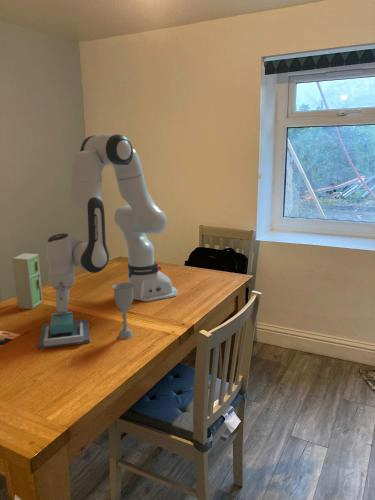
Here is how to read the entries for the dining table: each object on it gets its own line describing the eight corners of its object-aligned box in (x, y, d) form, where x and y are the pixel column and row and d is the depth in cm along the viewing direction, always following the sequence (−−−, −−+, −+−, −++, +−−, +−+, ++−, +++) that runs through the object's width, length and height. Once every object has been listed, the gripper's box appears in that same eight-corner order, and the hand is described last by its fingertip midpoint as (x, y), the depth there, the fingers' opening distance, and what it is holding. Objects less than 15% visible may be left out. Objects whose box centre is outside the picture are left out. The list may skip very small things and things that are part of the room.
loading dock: (88, 321, 147) (87, 310, 146) (90, 347, 128) (89, 335, 127) (43, 326, 143) (42, 315, 142) (38, 353, 124) (37, 341, 123)
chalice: (118, 342, 129) (115, 290, 124) (112, 333, 135) (109, 284, 130) (139, 337, 132) (137, 287, 128) (132, 329, 138) (130, 281, 134)
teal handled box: (73, 324, 140) (72, 311, 139) (73, 335, 131) (72, 321, 130) (52, 326, 138) (51, 313, 137) (50, 338, 129) (49, 324, 128)
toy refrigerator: (33, 309, 156) (28, 259, 150) (17, 308, 157) (11, 258, 152) (44, 302, 163) (40, 253, 158) (29, 301, 165) (24, 253, 159)
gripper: (69, 287, 132) (72, 325, 135) (71, 270, 151) (74, 303, 154) (50, 289, 130) (53, 327, 133) (54, 271, 149) (57, 305, 153)
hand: (64, 314), depth 144 cm, fingers open, 6 cm apart
